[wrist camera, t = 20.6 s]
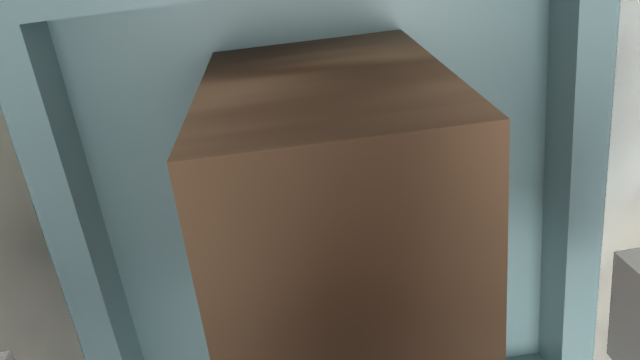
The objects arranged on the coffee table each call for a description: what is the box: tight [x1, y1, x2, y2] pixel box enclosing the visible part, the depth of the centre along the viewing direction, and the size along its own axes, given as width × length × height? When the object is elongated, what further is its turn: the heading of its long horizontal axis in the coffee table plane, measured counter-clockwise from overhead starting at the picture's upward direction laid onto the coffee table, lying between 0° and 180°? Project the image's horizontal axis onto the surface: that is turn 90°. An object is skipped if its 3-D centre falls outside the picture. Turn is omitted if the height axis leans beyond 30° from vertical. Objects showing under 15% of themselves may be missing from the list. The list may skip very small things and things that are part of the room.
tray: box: [0, 0, 620, 360], centre depth 18 cm, size 15×15×2 cm
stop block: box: [167, 29, 510, 360], centre depth 14 cm, size 5×7×8 cm
